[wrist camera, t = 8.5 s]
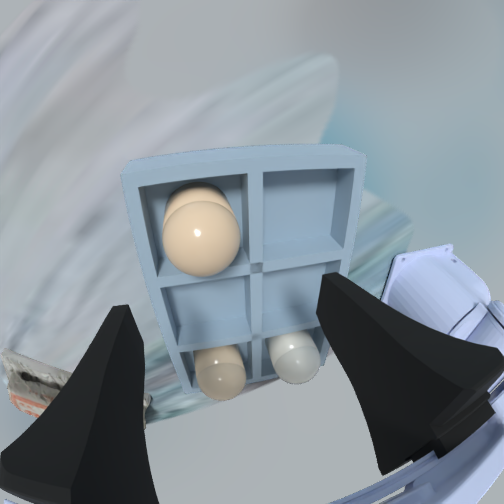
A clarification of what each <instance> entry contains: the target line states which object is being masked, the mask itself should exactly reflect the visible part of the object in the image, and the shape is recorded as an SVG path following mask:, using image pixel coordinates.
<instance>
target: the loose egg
mask: <svg viewBox="0 0 504 504" xmlns="http://www.w3.org/2000/svg"><path fill="white" fill-rule="evenodd" d="M240 239H241V234H240V228H239V225H238V222H237V220H236V217H235V215H234V213H233V210H232V208H231V206H230V203H229V201H228V199H227V197H226V195H225V194H224V193H223V191H221V190H220V189H219V188H218V187H216V186H214V185H212V184H210V183H206V182H191V183H187V184H185V185H183V186H181V187H179V188H178V189H176V190H175V191H174V192H173V193H172V194H171V196H170V197H169V198H168V200H167V203H166V205H165V211H164V221H163V231H162V242H163V248H164V251H165V254H166V256H167V257H168V259H169V261H170V262H171V263H172V264H173V265H174V266H175V267H176V268H177V269H178V270H180V271H181V272H183V273H185V274H188V275H191V276H195V277H208V276H212V275H215V274H217V273H219V272H221V271H223V270H224V269H225V268H227V267H228V266H229V265H230V264H231V263H232V261H233V260H234V258H235V257H236V255H237V253H238V250H239V247H240Z"/></svg>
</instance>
